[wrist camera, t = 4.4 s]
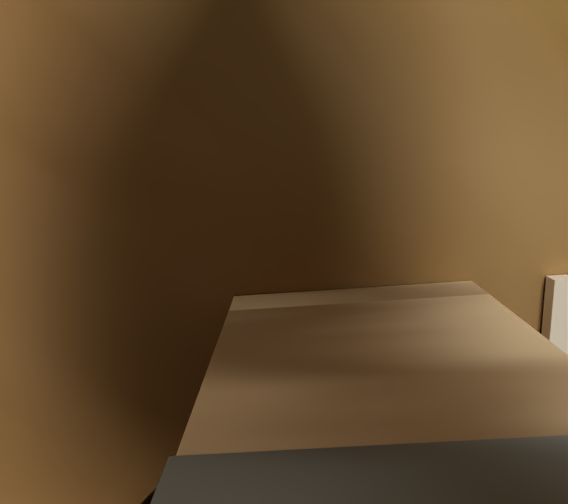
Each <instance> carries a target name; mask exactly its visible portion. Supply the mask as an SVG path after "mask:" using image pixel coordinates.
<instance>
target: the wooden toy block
mask: <svg viewBox="0 0 568 504" xmlns="http://www.w3.org/2000/svg"><path fill="white" fill-rule="evenodd" d="M150 504H568V355H567V354H566V353H565V352H563V351H562V350H561V349H559V348H558V347H557V346H556V345H554V344H553V343H552V342H550V341H549V340H548V339H547V338H545V337H544V336H543V335H541V334H540V333H539V332H538V331H536V330H535V329H534V328H532V327H531V326H530V325H529V324H527V323H526V322H525V321H523V320H522V319H521V318H520V317H518V316H517V315H516V314H514V313H513V312H512V311H511V310H509V309H508V308H507V307H505V306H504V305H503V304H501V303H500V302H499V301H498V300H496V299H495V298H494V297H492V296H491V295H490V294H489V293H487V292H486V291H485V290H483V289H482V288H481V287H480V286H478V285H477V284H476V283H474V282H473V281H459V282H444V283H428V284H413V285H398V286H383V287H367V288H352V289H337V290H322V291H306V292H291V293H276V294H261V295H245V296H234V298H233V300H232V303H231V306H230V309H229V311H228V314H227V317H226V319H225V322H224V325H223V328H222V330H221V333H220V336H219V339H218V341H217V344H216V347H215V350H214V352H213V355H212V358H211V361H210V363H209V366H208V369H207V371H206V374H205V377H204V380H203V382H202V385H201V388H200V391H199V393H198V396H197V399H196V402H195V404H194V407H193V410H192V413H191V415H190V418H189V421H188V423H187V426H186V429H185V432H184V434H183V437H182V440H181V443H180V445H179V448H178V451H177V454H176V456H169V457H168V459H167V462H166V464H165V467H164V470H163V472H162V475H161V477H160V480H159V483H158V485H157V488H156V490H155V493H154V495H153V498H152V501H151V503H150Z"/></svg>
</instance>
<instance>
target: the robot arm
mask: <svg viewBox="0 0 568 504" xmlns="http://www.w3.org/2000/svg"><path fill="white" fill-rule="evenodd" d="M156 488H157V487H156ZM156 488H155V489H154V491H153V492H152V493H151V494H150V495H149V496H148V497H147V498H146V499H145V500H144V501H143V502H142V503H141V504H150V503H151V501H152V498H153V495H154V493H155V490H156Z"/></svg>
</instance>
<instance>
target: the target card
mask: <svg viewBox="0 0 568 504" xmlns="http://www.w3.org/2000/svg"><path fill="white" fill-rule="evenodd" d="M541 335H543V336H544V337H545V338H547V339H548V340H549V341H550V342H552V343H553V344H554V345H556V346H557V347H558V348H559V349H561V350H562V351H563V352H565V353H566V354H567V355H568V275H553V276H546V285H545V297H544V309H543V320H542V332H541Z"/></svg>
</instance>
